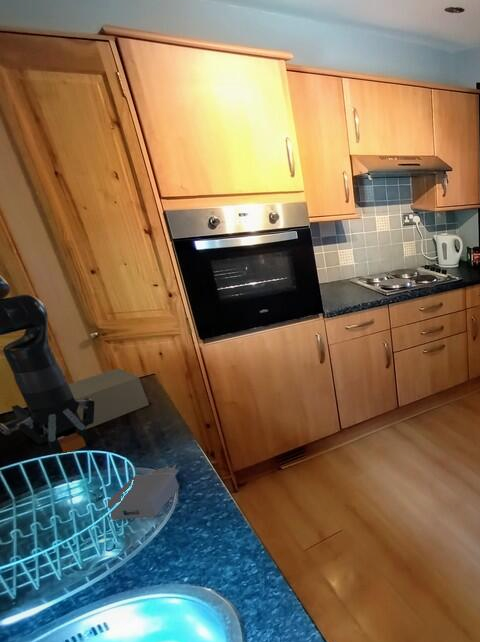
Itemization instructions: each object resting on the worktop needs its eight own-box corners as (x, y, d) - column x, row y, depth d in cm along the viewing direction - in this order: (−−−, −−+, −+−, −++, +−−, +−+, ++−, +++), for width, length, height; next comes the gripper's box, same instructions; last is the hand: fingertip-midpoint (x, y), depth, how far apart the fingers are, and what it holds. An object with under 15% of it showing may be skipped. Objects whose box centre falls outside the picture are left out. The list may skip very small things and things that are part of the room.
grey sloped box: (85, 430, 127) (72, 400, 123) (66, 418, 133) (52, 389, 129) (149, 405, 140) (138, 377, 136) (128, 395, 145) (118, 368, 141)
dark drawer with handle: (16, 452, 116) (3, 426, 113) (0, 439, 121) (-14, 414, 118) (107, 417, 131) (97, 393, 128) (89, 407, 136) (79, 384, 133)
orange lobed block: (86, 445, 109) (82, 436, 108) (65, 454, 106) (60, 445, 105) (72, 436, 112) (67, 427, 111) (51, 444, 109) (46, 435, 108)
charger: (194, 472, 110) (157, 517, 97) (154, 475, 109) (110, 520, 96) (189, 456, 108) (150, 500, 95) (148, 459, 107) (102, 503, 94)
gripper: (75, 368, 109) (101, 428, 115) (-8, 393, 97) (26, 458, 104) (90, 375, 105) (115, 437, 112) (5, 402, 94) (39, 468, 101)
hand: (72, 447), depth 108 cm, fingers closed on orange lobed block, 4 cm apart
